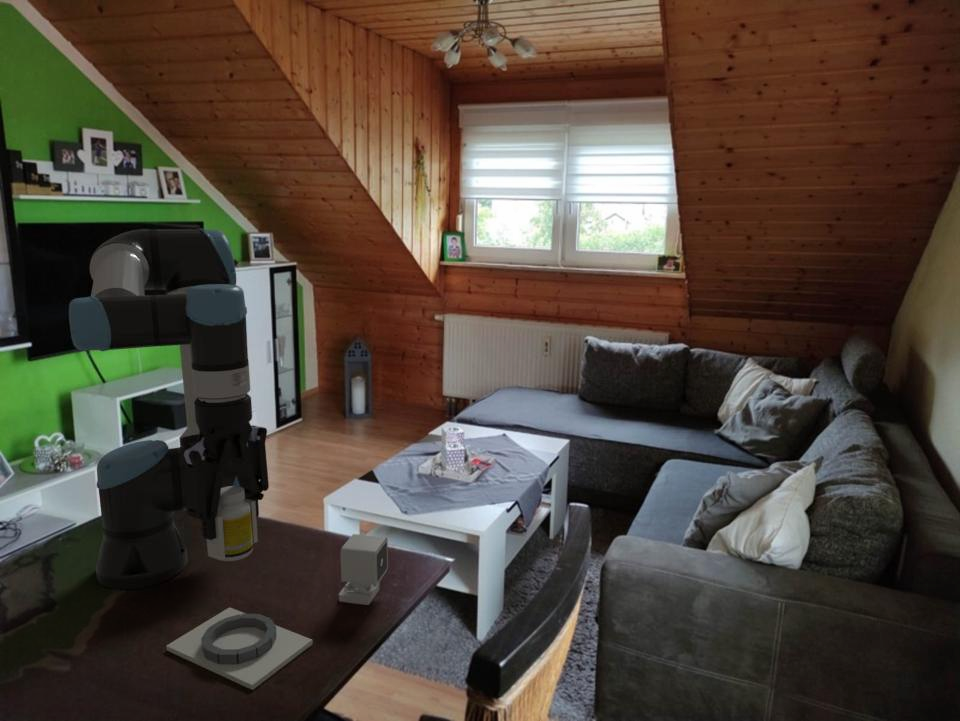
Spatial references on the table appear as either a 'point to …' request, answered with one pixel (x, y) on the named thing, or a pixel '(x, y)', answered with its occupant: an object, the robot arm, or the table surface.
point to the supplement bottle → (235, 523)
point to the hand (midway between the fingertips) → (233, 548)
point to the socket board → (240, 646)
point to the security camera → (363, 567)
